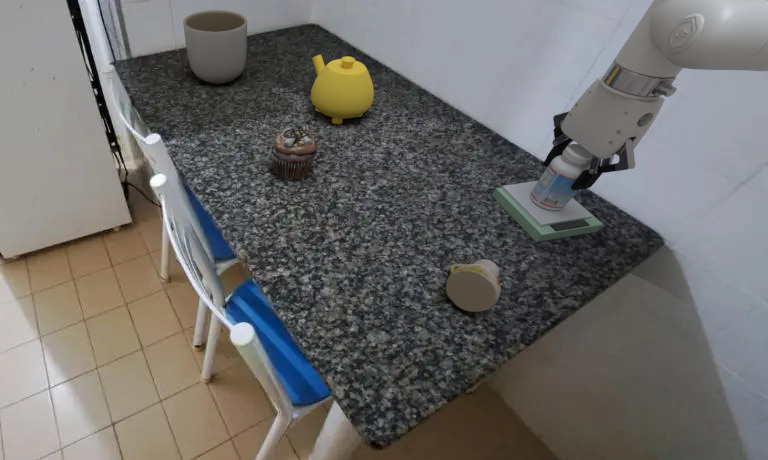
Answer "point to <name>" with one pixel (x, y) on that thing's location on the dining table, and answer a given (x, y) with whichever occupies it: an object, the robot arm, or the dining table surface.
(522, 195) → the scale
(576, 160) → the pill bottle
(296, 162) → the cupcake
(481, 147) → the dining table surface
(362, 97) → the teapot
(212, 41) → the planter
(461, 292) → the white floral pitcher
